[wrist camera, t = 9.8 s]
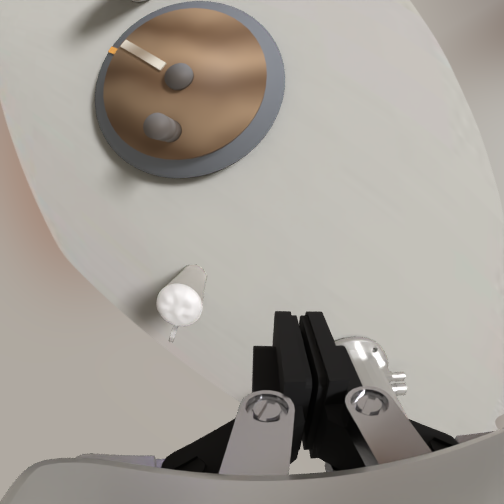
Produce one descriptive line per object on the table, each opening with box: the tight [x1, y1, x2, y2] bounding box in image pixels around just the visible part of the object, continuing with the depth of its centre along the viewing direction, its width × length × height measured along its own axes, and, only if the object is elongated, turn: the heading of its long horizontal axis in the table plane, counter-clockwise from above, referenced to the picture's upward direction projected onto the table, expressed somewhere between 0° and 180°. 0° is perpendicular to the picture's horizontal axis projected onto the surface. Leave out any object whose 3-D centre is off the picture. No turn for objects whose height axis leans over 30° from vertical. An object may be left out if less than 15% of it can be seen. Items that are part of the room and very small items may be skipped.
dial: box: [103, 8, 267, 160], centre depth 26 cm, size 18×18×6 cm
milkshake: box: [156, 265, 207, 342], centre depth 32 cm, size 4×5×10 cm
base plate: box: [95, 1, 285, 178], centre depth 30 cm, size 22×22×2 cm
